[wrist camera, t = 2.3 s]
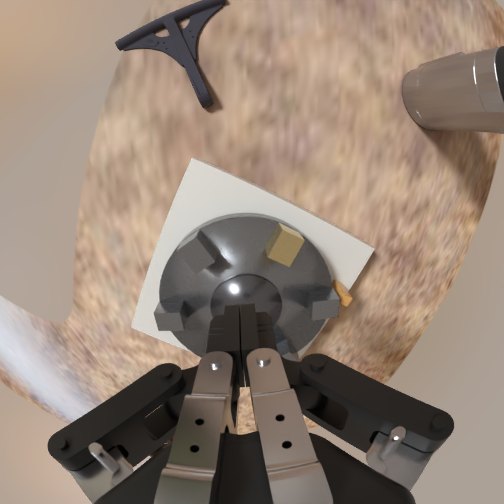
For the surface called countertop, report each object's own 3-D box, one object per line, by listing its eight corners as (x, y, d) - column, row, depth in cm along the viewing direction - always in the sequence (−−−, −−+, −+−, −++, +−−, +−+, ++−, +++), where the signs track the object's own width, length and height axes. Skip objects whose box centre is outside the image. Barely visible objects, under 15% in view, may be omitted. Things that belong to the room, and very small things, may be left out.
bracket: (155, 133, 29) (148, 132, 26) (118, 43, 24) (110, 37, 21) (266, 85, 28) (268, 80, 25) (221, -2, 23) (220, -12, 20)
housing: (196, 157, 30) (184, 159, 23) (364, 241, 34) (389, 261, 28) (137, 315, 37) (121, 344, 31) (280, 367, 42) (285, 399, 35)
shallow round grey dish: (201, 182, 28) (193, 188, 23) (355, 257, 32) (372, 274, 27) (146, 323, 34) (136, 347, 29) (277, 370, 38) (282, 395, 33)
